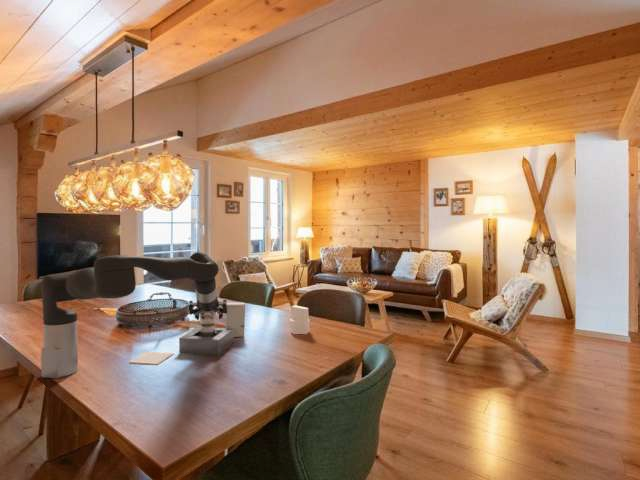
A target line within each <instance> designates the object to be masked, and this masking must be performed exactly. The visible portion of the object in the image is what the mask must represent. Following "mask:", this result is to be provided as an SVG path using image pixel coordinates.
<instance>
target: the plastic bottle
mask: <svg viewBox="0 0 640 480" xmlns="http://www.w3.org/2000/svg"><path fill="white" fill-rule="evenodd" d="M216 314H217V313H215V312H213V311H203V312H202V313H200V314H199V322H200V327H201V333H200V336H201V337H215V328H216V326H215V323H216V322H215V321H216Z"/></svg>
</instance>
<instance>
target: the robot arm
mask: <svg viewBox="0 0 640 480" xmlns="http://www.w3.org/2000/svg"><path fill="white" fill-rule="evenodd" d="M93 262H94V263H93V267H86V268H82V269H78V270H76V271H73V272H69V273H59V274H58V273H56V274H48V275H45V276H43V277H42V280H41V286H40V287H41V290H40V291H41V298H42V299H41V301H42V316H43V318H42V319H43V347H42V348H41V349H40V356H41V357H40V359H41V360H40V361H41V362H40V363H41V365H40V366H41V378H45V379H46V378H49V379H51V378H52V379H60V378H63V377H67V376H71V375H73V374H74V373H77V372H78V370H79V356H78V355H79V354H78V353H79V349H78V347H79V346H78V345H79V344H78V313H77V311H75V310H71V309H64V308H61V307H59V306H58V305H57V303H61V302H68V301H69V302H70V301H73V300H74V301H75V300H81V301H83V300H93V299H97V298H98V299H119V298H124V297H127V296H130V295H132V294H133V293H134V292H135V290H136V282H137V281H136V272H135V268H139V269H142V270H144V271H147V272H148V273H150V274H152V275H154V276H155V277H157V278H158V279H162V280H164V281H171V282H172V281H177V280H179V281H180V280H186V279H187V280H191V281H194V286H195V297H196V302H193V300H189V301H188V302H189V303H188V313H189V315H190V316H191V315H194V319H196V321H200V315H199V314H200V313H202V312H203V311H213V312H215V313H216V314H218V320H221V319H222V318H223V317H224V314H226V313H227V303H228V301H227V300H226V299H223V300H222V301H219V298H218V289H217V284H216V283H217V282H216V276H217V275H218V274H219V269H220V268H219V265H218V263H216V262H215V261H214V260H213V259H212V258H211V257H210V256H209V255H208V254H206V253H205V252H203V251H195V252H194V253H192V254H191V256H190V257H187V256H179V257H178V256H176V257H157V256H145V255H128V254H126V255H124V254H119V255H118V254H116V255H115V254H114V255H107V256H102V257H99V258H97V259H95V261H93ZM195 307H196V308H195Z"/></svg>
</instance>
